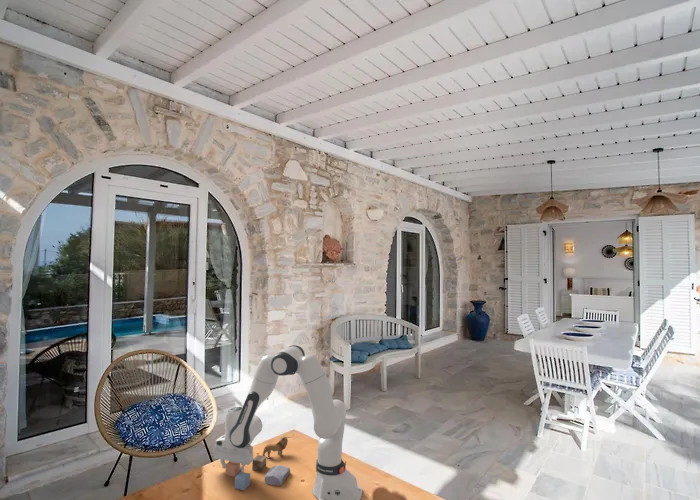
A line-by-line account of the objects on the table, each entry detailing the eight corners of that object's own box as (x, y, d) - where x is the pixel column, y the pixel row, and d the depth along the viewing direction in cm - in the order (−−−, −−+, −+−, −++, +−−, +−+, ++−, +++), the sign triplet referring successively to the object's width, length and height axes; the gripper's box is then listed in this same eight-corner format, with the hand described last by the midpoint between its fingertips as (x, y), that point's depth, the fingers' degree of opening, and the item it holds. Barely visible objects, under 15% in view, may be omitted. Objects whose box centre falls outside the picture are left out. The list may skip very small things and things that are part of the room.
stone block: (263, 487, 184) (283, 486, 182) (261, 477, 184) (281, 476, 182) (272, 474, 195) (291, 473, 194) (271, 464, 196) (290, 463, 194)
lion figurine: (285, 450, 215) (285, 434, 215) (289, 454, 210) (289, 438, 210) (259, 457, 207) (259, 440, 207) (262, 462, 202) (263, 444, 202)
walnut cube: (266, 466, 198) (266, 456, 198) (261, 471, 194) (261, 461, 194) (257, 464, 200) (257, 454, 200) (252, 469, 195) (252, 459, 195)
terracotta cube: (240, 471, 193) (240, 461, 193) (234, 476, 189) (234, 466, 189) (231, 469, 195) (231, 459, 195) (225, 474, 190) (225, 464, 190)
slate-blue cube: (249, 484, 183) (250, 473, 183) (244, 490, 178) (244, 479, 178) (240, 482, 184) (240, 471, 184) (234, 488, 180) (234, 477, 180)
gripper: (256, 441, 192) (255, 469, 192) (219, 435, 197) (218, 462, 197) (249, 447, 186) (248, 477, 186) (212, 440, 191) (211, 469, 191)
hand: (232, 469), depth 192 cm, fingers open, 8 cm apart
